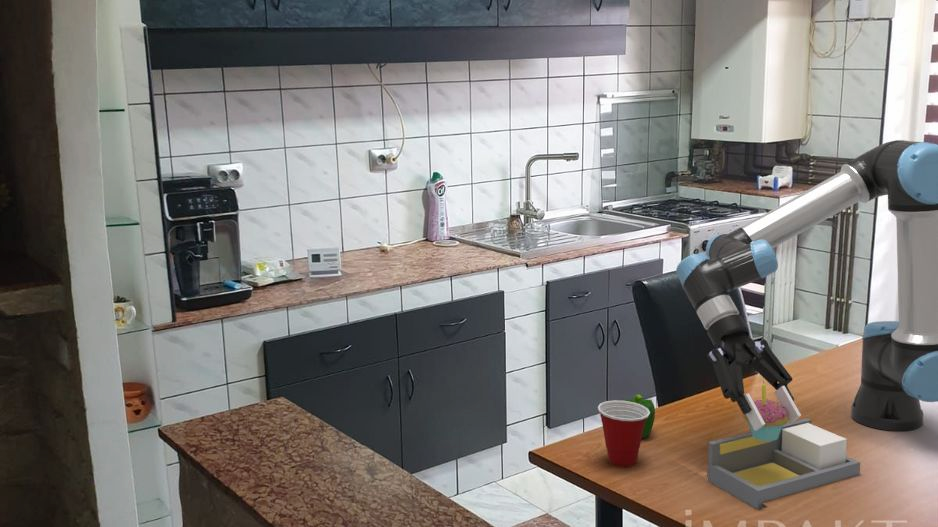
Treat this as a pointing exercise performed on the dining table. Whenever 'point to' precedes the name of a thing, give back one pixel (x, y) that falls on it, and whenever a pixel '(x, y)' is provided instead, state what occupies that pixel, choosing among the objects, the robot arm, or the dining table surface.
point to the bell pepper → (651, 417)
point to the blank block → (814, 446)
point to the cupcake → (769, 418)
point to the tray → (767, 468)
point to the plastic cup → (623, 430)
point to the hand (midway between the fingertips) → (778, 423)
